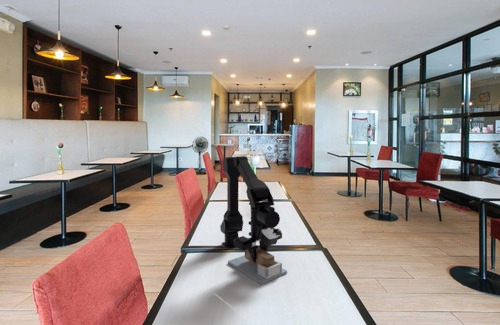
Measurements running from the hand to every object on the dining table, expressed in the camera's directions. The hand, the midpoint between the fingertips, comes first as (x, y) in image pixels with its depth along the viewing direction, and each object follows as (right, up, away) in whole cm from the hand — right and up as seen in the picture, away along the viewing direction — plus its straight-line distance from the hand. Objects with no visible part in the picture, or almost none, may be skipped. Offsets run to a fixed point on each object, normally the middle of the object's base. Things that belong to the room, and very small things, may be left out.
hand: (258, 260), depth 115 cm
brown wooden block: (0, -1, 0) cm, 1 cm away
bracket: (-1, -3, +2) cm, 4 cm away
